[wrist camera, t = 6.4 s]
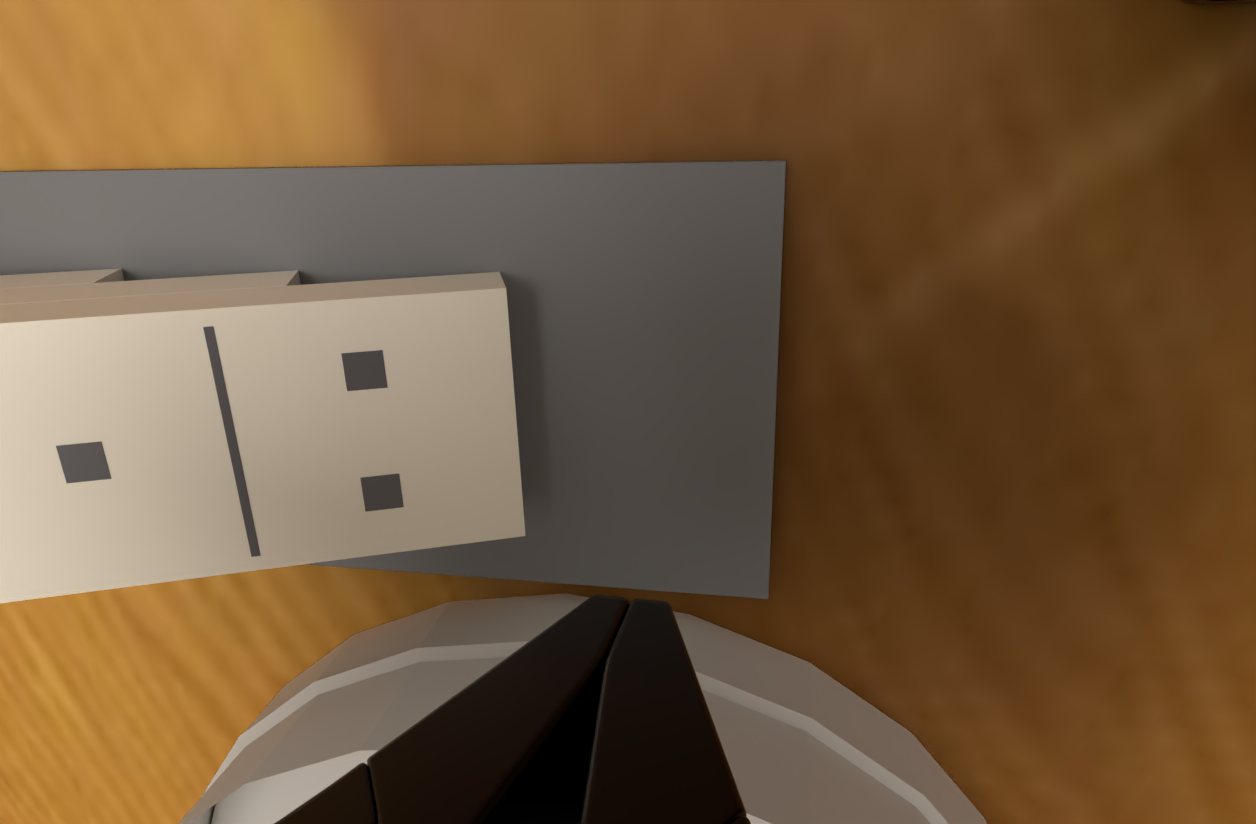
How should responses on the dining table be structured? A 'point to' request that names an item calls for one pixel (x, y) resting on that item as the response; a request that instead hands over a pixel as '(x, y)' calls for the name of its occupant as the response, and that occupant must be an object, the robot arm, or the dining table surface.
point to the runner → (517, 328)
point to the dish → (495, 628)
